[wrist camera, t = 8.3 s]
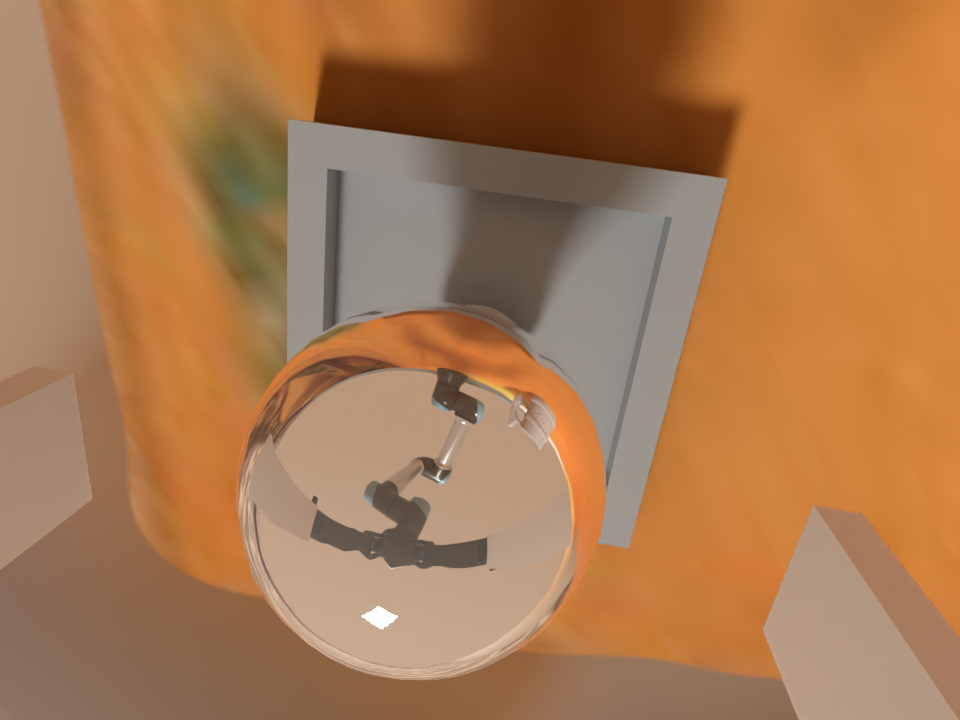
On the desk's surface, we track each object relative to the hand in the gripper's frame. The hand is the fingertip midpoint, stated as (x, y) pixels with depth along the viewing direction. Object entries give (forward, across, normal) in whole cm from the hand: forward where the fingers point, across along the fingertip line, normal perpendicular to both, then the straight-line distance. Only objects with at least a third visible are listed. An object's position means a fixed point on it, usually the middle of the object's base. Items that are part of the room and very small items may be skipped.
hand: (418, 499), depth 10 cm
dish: (+10, 0, 0) cm, 10 cm away
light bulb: (+10, 0, 0) cm, 10 cm away
